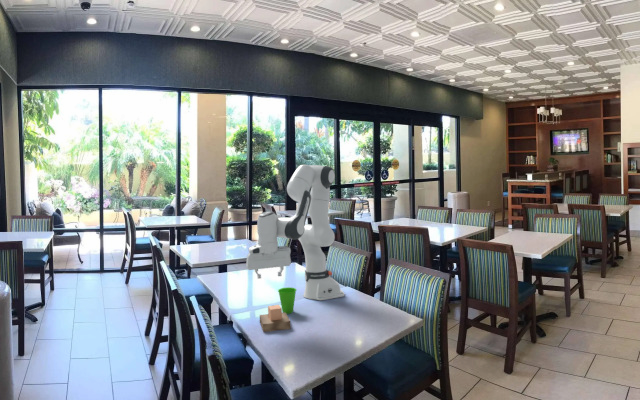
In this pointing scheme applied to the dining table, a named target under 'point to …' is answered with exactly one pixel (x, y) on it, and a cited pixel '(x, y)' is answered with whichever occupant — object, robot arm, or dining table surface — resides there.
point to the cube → (274, 312)
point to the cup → (287, 299)
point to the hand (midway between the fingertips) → (269, 277)
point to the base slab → (274, 323)
